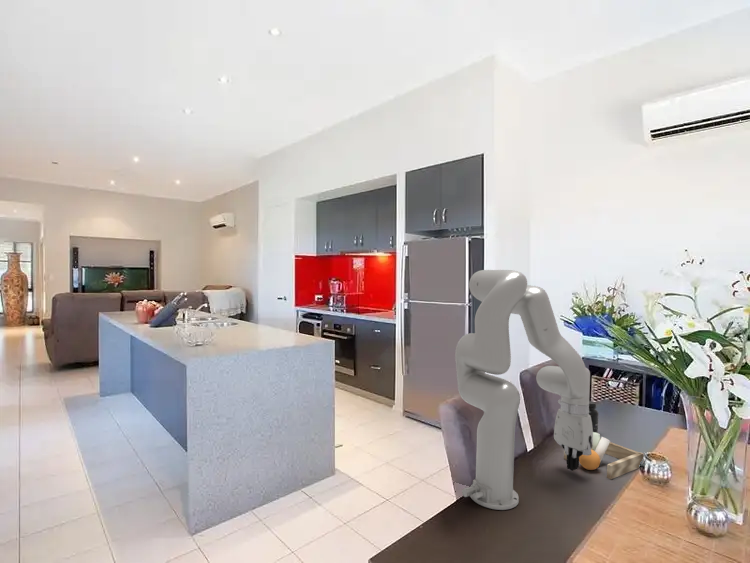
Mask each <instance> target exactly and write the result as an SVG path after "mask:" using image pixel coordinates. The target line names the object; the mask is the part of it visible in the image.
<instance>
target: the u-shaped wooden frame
mask: <svg viewBox="0 0 750 563" xmlns="http://www.w3.org/2000/svg"><path fill="white" fill-rule="evenodd" d="M600 439H601V437H600ZM604 455H608V456H610V457H613V458H615V459H618V460H615V461H613V462H610V463H608V464H607V466H606V478H607V479H608V480H613V479H616V478H618V477H621V476H623V475H626V474H628V473H631V472H632V471H635V470H637V469H640V468H639V465H640V462H641V461H642V459H643V457H644V456H645V454H644V452H639V451H637V450H634V449H631V448H628V447H625V446H622V445H619V444H617V443H614V442H611V441H610V443H609V445H608V447H607V450H606V452H605V454H604ZM563 459H564V460H566V461H567V455H566V454H565V450H564V449H563ZM643 460H644V459H643Z"/></svg>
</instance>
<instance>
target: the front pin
mask: <svg viewBox="0 0 750 563" xmlns="http://www.w3.org/2000/svg"><path fill="white" fill-rule="evenodd" d="M600 438H601V439H600V441H599V443H598V445H597V448H596V450H595V452H596V453H597V454H598V455H599V457H600V463H601V462H602V460H603V458H604V455H606V454H605V452H606V450H607V447H608V445H609V443H610V442H611V440H609V439H608V438H606V437H603V436H600Z"/></svg>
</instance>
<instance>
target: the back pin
mask: <svg viewBox="0 0 750 563" xmlns="http://www.w3.org/2000/svg"><path fill="white" fill-rule="evenodd" d="M600 438H601V434H600V433H599V432H598V433H596V432H593V446H592V448H591V450H594V451H595V450H596V448H597V445H598V443H599V441H600Z"/></svg>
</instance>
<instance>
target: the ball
mask: <svg viewBox="0 0 750 563" xmlns="http://www.w3.org/2000/svg"><path fill="white" fill-rule="evenodd" d="M591 453H592V454H591V455H589V456H587V455H581V456H580V457H579V465H581V467H582V468H584V469H586V470H589V471H594V470H595V471H596V469H598V468H599V466H600V464H601V462H600V457H599V455H598V454H597V453H596V452H595V451H594V450H591Z"/></svg>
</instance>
